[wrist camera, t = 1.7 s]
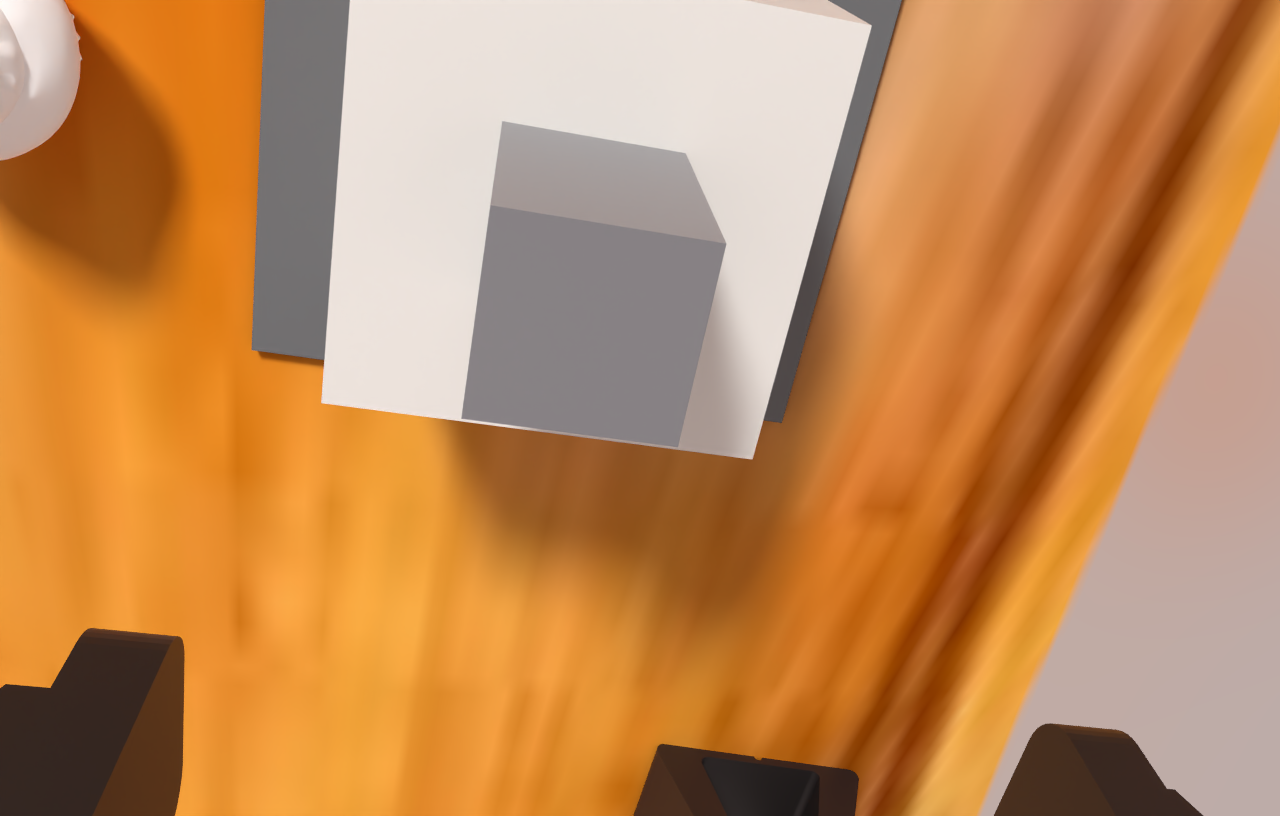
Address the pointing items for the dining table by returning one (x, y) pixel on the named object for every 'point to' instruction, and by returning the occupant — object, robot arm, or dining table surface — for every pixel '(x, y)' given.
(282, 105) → the mat
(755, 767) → the phone stand
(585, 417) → the cover
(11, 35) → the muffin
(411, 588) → the dining table surface
